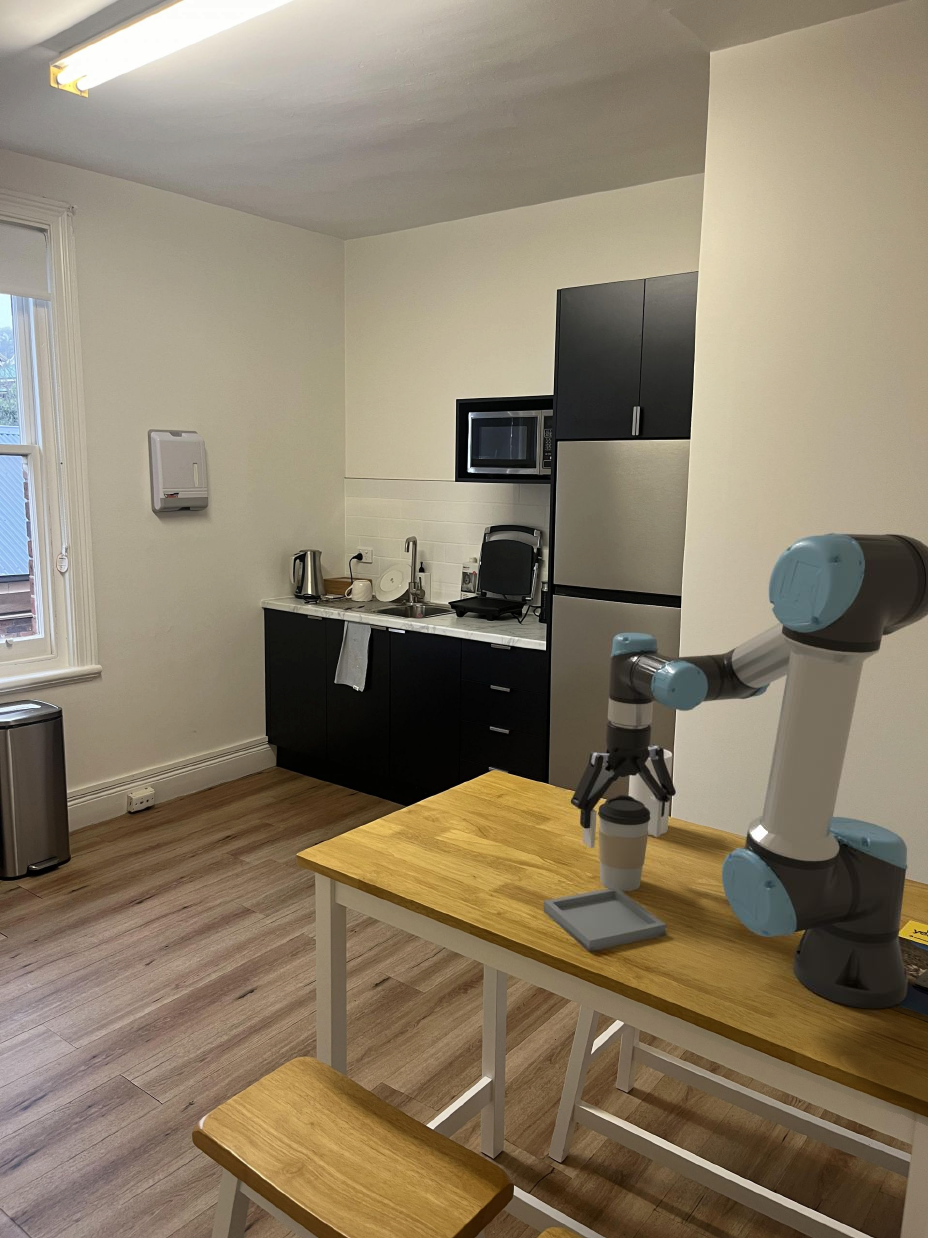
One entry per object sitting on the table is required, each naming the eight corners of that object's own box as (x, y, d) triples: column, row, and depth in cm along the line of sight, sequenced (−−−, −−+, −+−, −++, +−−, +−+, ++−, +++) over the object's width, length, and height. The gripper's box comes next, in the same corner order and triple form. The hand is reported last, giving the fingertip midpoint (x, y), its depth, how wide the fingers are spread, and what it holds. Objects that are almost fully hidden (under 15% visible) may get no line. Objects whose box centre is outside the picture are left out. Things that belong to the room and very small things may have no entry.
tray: (665, 935, 143) (666, 924, 143) (588, 952, 137) (589, 940, 137) (615, 897, 156) (615, 887, 155) (543, 911, 150) (544, 900, 150)
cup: (671, 836, 183) (676, 759, 181) (630, 834, 183) (634, 758, 181) (663, 820, 191) (667, 747, 189) (623, 819, 191) (628, 746, 189)
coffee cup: (646, 897, 156) (651, 813, 154) (592, 891, 158) (597, 808, 155) (646, 875, 165) (651, 795, 162) (596, 869, 166) (600, 790, 164)
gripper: (675, 711, 165) (666, 822, 169) (555, 723, 155) (549, 840, 159) (701, 722, 158) (692, 837, 162) (578, 735, 148) (571, 858, 152)
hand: (621, 839), depth 160 cm, fingers open, 13 cm apart
